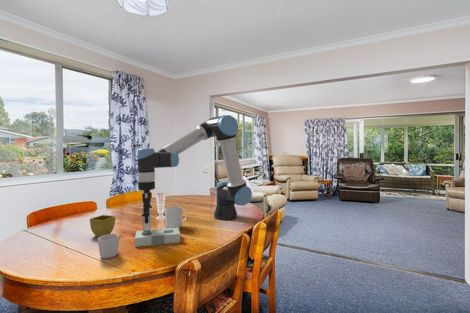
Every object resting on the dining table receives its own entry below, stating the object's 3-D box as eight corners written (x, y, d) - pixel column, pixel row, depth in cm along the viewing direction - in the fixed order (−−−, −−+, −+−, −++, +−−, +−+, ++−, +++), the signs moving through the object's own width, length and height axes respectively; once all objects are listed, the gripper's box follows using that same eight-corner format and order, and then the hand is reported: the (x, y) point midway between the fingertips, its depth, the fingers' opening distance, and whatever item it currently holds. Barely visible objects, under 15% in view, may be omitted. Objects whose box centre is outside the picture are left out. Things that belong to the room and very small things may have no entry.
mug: (167, 231, 136) (167, 210, 136) (164, 226, 144) (163, 207, 144) (189, 228, 141) (189, 208, 141) (184, 223, 149) (184, 205, 149)
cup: (106, 249, 111) (105, 231, 110) (124, 249, 111) (124, 231, 111) (94, 260, 100) (94, 240, 100) (115, 260, 101) (115, 240, 100)
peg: (150, 240, 122) (150, 215, 122) (150, 242, 119) (150, 217, 119) (143, 241, 121) (143, 216, 121) (143, 243, 118) (143, 217, 118)
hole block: (178, 235, 129) (178, 227, 129) (180, 242, 120) (180, 233, 120) (136, 239, 124) (136, 231, 123) (134, 246, 114) (134, 238, 114)
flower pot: (116, 233, 133) (116, 216, 132) (102, 238, 124) (102, 220, 124) (103, 231, 136) (103, 214, 135) (89, 236, 127) (88, 218, 127)
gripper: (139, 178, 130) (140, 219, 131) (135, 185, 106) (136, 235, 107) (155, 177, 132) (155, 217, 133) (154, 184, 109) (155, 233, 109)
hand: (147, 225), depth 120 cm, fingers open, 13 cm apart
